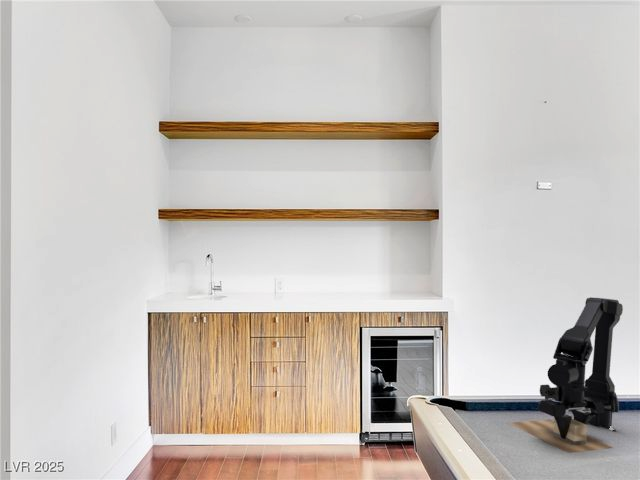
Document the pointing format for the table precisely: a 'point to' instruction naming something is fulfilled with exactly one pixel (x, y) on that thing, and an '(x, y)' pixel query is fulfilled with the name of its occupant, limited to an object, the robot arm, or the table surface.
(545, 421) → the light brown wooden board
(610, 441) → the table surface
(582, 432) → the block
